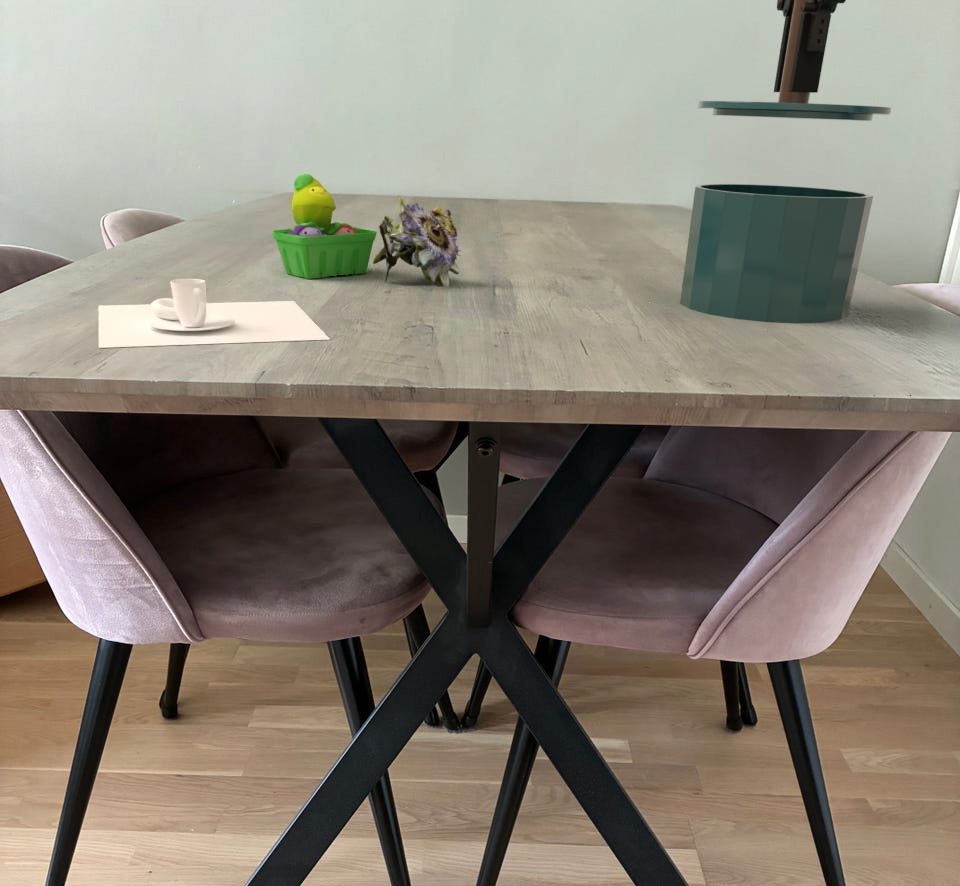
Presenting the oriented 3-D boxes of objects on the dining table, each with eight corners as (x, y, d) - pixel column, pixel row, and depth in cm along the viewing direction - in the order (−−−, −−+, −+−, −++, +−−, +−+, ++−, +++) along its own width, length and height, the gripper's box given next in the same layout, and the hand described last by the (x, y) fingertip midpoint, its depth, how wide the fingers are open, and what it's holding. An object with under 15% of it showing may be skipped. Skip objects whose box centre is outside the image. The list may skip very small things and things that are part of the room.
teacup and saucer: (145, 318, 93) (139, 274, 91) (229, 316, 95) (225, 272, 93) (149, 337, 85) (143, 289, 83) (239, 334, 88) (235, 287, 86)
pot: (802, 298, 117) (823, 186, 111) (876, 329, 101) (906, 199, 95) (659, 297, 114) (673, 182, 108) (712, 328, 98) (732, 195, 92)
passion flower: (441, 334, 117) (440, 258, 106) (359, 310, 118) (350, 232, 108) (471, 270, 122) (474, 191, 111) (392, 247, 123) (386, 167, 112)
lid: (834, 120, 107) (854, 12, 102) (926, 122, 91) (955, -6, 86) (672, 113, 105) (685, 2, 100) (737, 115, 88) (756, -18, 83)
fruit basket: (305, 281, 115) (299, 178, 110) (266, 272, 121) (259, 173, 116) (380, 274, 122) (379, 177, 117) (340, 265, 128) (337, 172, 122)
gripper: (769, -190, 92) (730, 91, 103) (849, -242, 78) (793, 89, 89) (842, -183, 93) (796, 94, 104) (934, -234, 79) (868, 92, 90)
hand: (795, 91), depth 97 cm, fingers closed on lid, 3 cm apart
